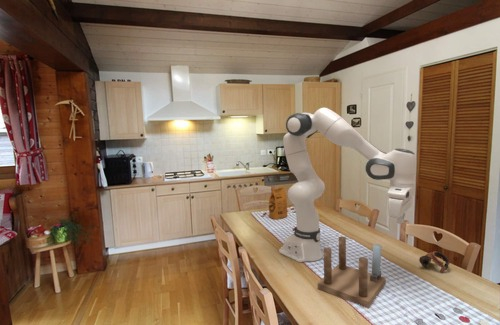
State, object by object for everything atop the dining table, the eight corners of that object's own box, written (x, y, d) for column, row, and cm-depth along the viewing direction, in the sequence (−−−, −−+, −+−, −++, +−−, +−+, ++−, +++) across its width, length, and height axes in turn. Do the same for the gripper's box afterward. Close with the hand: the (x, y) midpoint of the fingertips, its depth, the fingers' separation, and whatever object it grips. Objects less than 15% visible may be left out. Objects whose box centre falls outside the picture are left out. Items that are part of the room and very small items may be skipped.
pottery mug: (431, 261, 131) (442, 249, 127) (444, 279, 123) (456, 267, 119) (410, 258, 128) (420, 246, 124) (422, 276, 120) (434, 264, 116)
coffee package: (267, 217, 204) (266, 187, 202) (280, 213, 211) (279, 185, 208) (275, 220, 196) (274, 190, 193) (289, 217, 203) (288, 187, 200)
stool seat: (317, 288, 113) (316, 250, 110) (338, 268, 127) (338, 234, 125) (368, 308, 99) (368, 264, 97) (385, 283, 114) (386, 245, 112)
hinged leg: (370, 274, 113) (372, 246, 111) (373, 271, 115) (374, 243, 114) (378, 276, 111) (379, 248, 109) (380, 273, 113) (382, 245, 112)
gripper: (400, 183, 121) (399, 214, 123) (385, 193, 106) (384, 228, 108) (417, 185, 117) (415, 217, 119) (404, 196, 102) (402, 232, 104)
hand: (400, 222), depth 113 cm, fingers closed
